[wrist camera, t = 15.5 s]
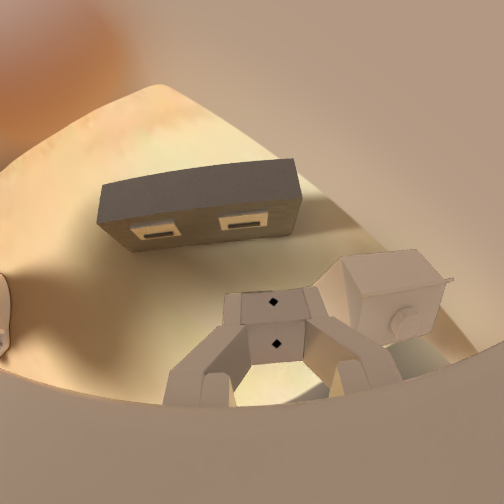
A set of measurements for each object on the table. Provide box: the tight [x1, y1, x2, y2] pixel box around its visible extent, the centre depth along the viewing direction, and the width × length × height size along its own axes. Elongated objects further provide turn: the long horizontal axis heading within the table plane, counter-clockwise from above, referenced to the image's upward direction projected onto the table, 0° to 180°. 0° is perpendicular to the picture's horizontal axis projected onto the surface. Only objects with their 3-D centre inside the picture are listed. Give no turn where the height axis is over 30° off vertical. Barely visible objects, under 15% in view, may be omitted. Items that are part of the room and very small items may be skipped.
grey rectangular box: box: [97, 159, 302, 252], centre depth 32 cm, size 22×5×10 cm, turn 96°
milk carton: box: [312, 249, 454, 346], centre depth 24 cm, size 7×7×19 cm
